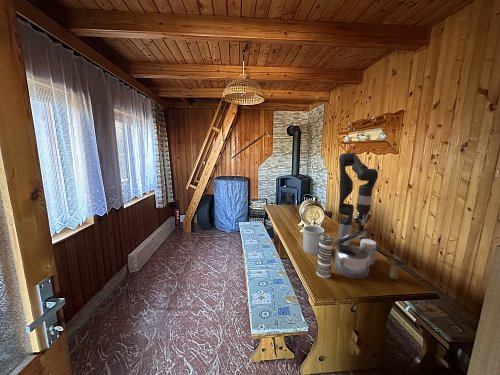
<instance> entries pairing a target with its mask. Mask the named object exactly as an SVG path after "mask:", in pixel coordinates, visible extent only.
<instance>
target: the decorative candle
mask: <svg viewBox="0 0 500 375" xmlns="http://www.w3.org/2000/svg"><path fill="white" fill-rule="evenodd" d="M319 238H320V242H319V243H318V255H317V258H318V259H317V262H316V270H315V271H316V275H317V276H319V277H320V278H324V279H329V278H330V277H331V276H332V267H333V265H332V259H333V256H334V250H335V249H334V247H335V245H334V241H335V239H334V237H332V235H331V234H325V233H324V235H322V236H320V237H319Z"/></svg>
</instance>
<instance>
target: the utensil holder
mask: <svg viewBox="0 0 500 375" xmlns="http://www.w3.org/2000/svg"><path fill="white" fill-rule="evenodd" d="M324 234H325V229H324V228H323V227H321V226H318V225H314V224H313V225H312V224H311V225H305V226H304V227H303V239H302V241H303V242H302V251H304V253H306V254H308V255H311V256H318V243H319V242H320V238H319V237H320V236H322V235H324Z"/></svg>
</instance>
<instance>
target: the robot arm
mask: <svg viewBox="0 0 500 375" xmlns="http://www.w3.org/2000/svg"><path fill="white" fill-rule="evenodd" d="M338 160H339V201H338V214H340V215H342V216H346V217H343V218H340V219H339V224H338V233H337V240H338V239H340V238H343V237H345V235H347V234H350V233H351V234H353V233H352V226H353V221H354V222H355V224H357V225H358V227H357V230H358V232H359V231H361V230H365V229H364V227H365V225H366V224H368V222H369V221H370V219H371V217H372V215H371V214H370V212H371V209H372V203H373V198H372V196H373V190H374V187H375V185H376V182H377V180H378V179H379V171H378V170H377V169H375V168H369V167H368V166H367V165H366V164H365V163H363V162H362V161H361V159H360V158H359V156H358V155H357V154H356V152H347V153H341V154H340V155H339V158H338ZM346 167H352V171H353V172H354V173H355V175H356V177H357V179H358V180H359V181H361V182H366V183H364V184H360V185H359V186H358V194H357V197H356V198H357V199H356V206H354V204H351V203H345V200H346V199H347V198H348V197H349V196H350V195H351V194H352V192H353V190H354V189H353V188H354V181H353V179H352V178H351V176H350V175H349V173H347V171H346ZM355 208H356V214H355V216H354V213H355V212H354V210H355ZM351 243H352V241H351V242H348V243H345V244H341V245H352V244H351Z"/></svg>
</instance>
